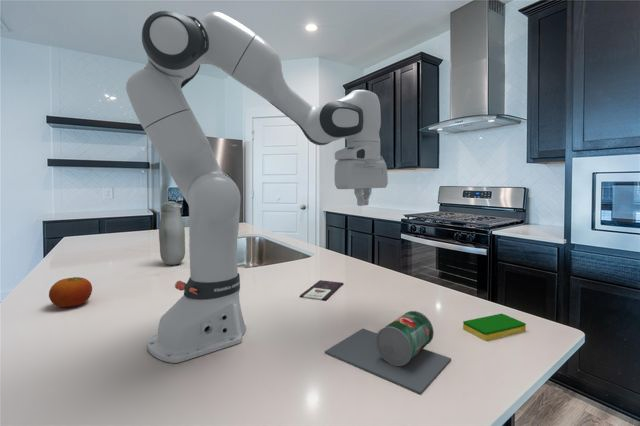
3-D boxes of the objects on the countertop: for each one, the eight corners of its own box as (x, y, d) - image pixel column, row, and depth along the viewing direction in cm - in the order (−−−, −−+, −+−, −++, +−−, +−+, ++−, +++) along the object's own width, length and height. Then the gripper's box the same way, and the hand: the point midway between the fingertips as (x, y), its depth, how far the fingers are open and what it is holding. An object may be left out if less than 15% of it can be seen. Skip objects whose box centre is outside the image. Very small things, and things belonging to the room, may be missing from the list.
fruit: (41, 308, 100) (39, 282, 99) (77, 297, 109) (75, 272, 109) (66, 313, 96) (64, 286, 95) (101, 301, 106) (99, 276, 105)
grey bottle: (165, 262, 155) (162, 200, 152) (188, 261, 156) (185, 200, 153) (157, 267, 145) (153, 202, 142) (182, 266, 146) (179, 201, 143)
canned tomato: (416, 304, 76) (393, 319, 68) (441, 334, 73) (419, 355, 65) (394, 322, 80) (369, 338, 72) (416, 352, 77) (392, 373, 69)
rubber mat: (420, 394, 60) (420, 392, 60) (324, 353, 74) (324, 351, 74) (451, 360, 71) (451, 358, 71) (362, 329, 86) (362, 328, 86)
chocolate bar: (343, 282, 122) (325, 299, 106) (343, 285, 123) (325, 302, 106) (320, 280, 126) (299, 295, 109) (320, 282, 126) (299, 298, 109)
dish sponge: (461, 330, 86) (462, 321, 86) (501, 321, 92) (501, 312, 91) (485, 342, 80) (485, 332, 80) (526, 332, 85) (526, 323, 85)
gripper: (374, 156, 101) (374, 202, 102) (330, 152, 86) (330, 207, 87) (393, 155, 97) (392, 203, 98) (350, 151, 82) (349, 208, 83)
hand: (362, 205), depth 93 cm, fingers closed
